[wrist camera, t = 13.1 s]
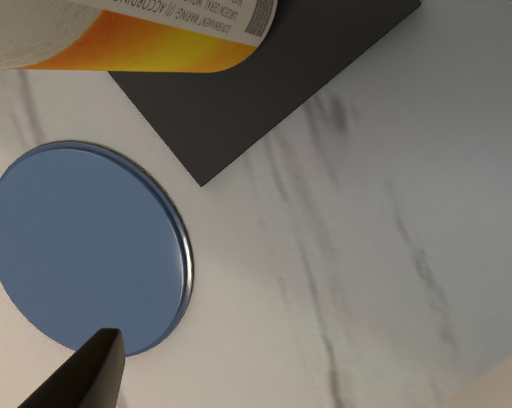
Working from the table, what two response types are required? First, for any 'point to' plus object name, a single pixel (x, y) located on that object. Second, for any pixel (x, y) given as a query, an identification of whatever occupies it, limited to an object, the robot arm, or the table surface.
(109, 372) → the robot arm
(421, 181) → the table surface
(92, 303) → the plate
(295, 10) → the mat
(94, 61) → the beer can
